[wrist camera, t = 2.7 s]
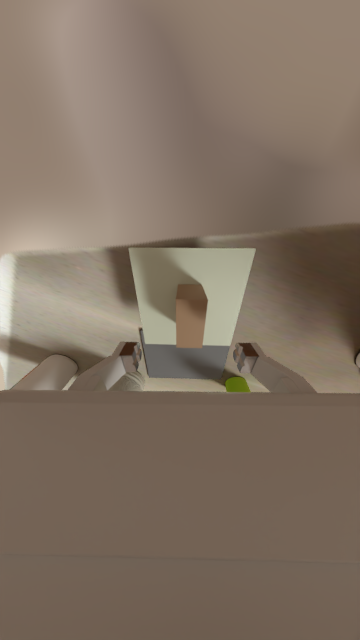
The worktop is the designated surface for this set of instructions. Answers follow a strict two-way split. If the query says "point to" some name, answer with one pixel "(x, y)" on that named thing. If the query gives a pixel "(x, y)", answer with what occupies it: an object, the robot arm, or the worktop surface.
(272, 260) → the worktop surface
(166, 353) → the mat
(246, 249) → the cover
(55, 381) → the milk bottle
